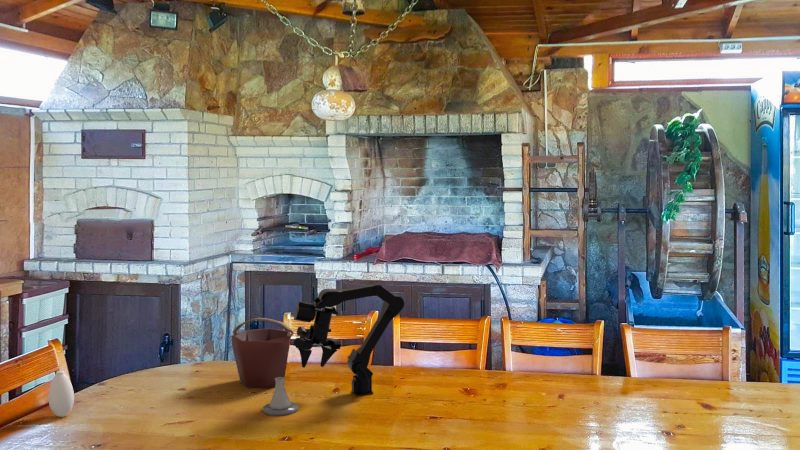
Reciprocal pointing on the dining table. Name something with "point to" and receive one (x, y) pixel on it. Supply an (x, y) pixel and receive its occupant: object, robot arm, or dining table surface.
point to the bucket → (261, 354)
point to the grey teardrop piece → (61, 394)
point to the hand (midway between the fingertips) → (312, 367)
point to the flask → (280, 396)
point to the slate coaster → (281, 412)
